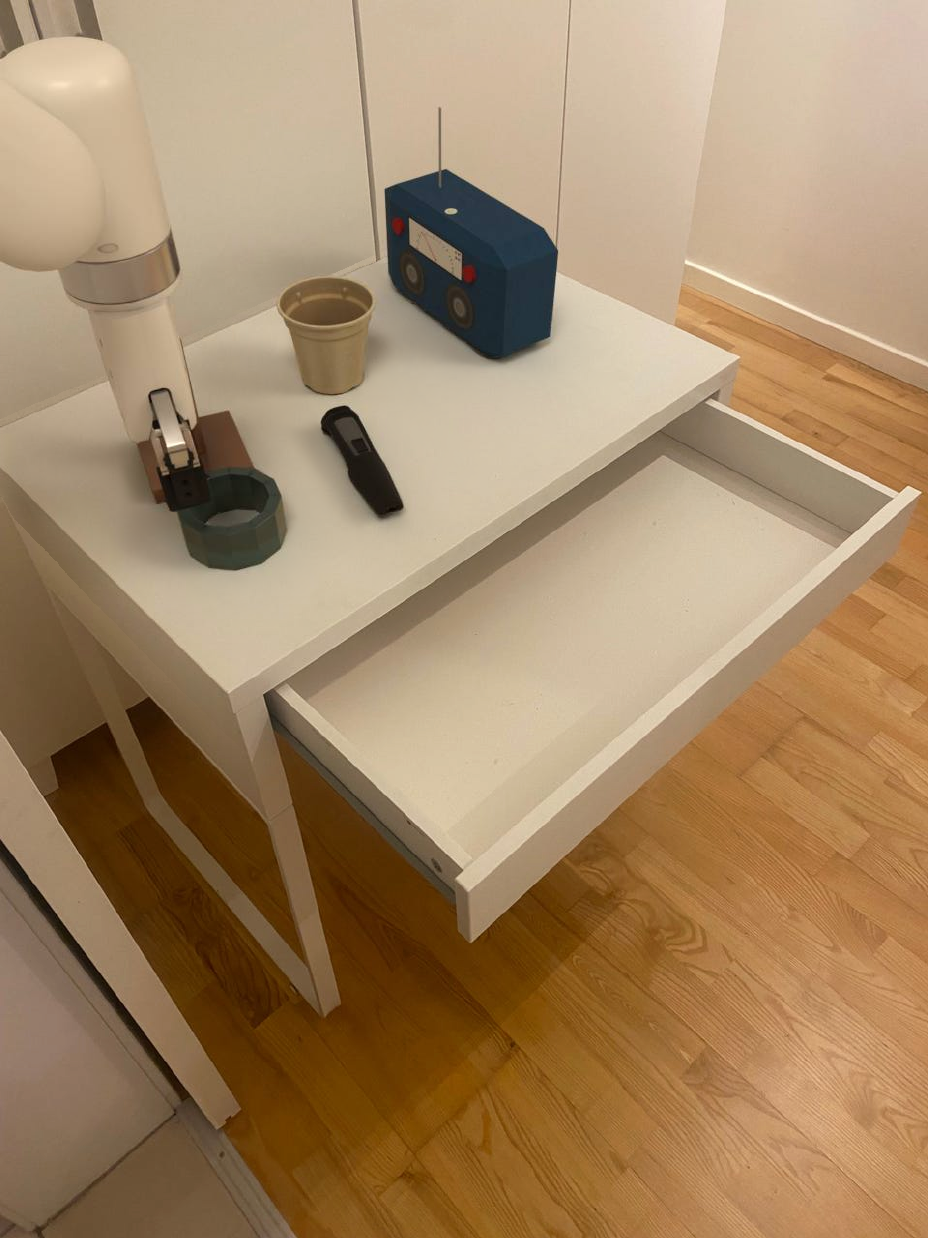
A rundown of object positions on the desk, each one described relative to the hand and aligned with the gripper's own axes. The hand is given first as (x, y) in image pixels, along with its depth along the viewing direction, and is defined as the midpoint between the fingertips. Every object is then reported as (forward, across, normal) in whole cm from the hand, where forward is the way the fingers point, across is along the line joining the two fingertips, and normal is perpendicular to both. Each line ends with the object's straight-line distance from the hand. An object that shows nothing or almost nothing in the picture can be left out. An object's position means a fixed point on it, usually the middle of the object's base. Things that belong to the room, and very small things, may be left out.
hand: (176, 465), depth 75 cm
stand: (+8, -11, +2) cm, 14 cm away
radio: (+9, -25, +35) cm, 44 cm away
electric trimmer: (+9, -4, +16) cm, 19 cm away
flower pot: (+9, -19, +18) cm, 28 cm away
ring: (+8, 0, +3) cm, 9 cm away
